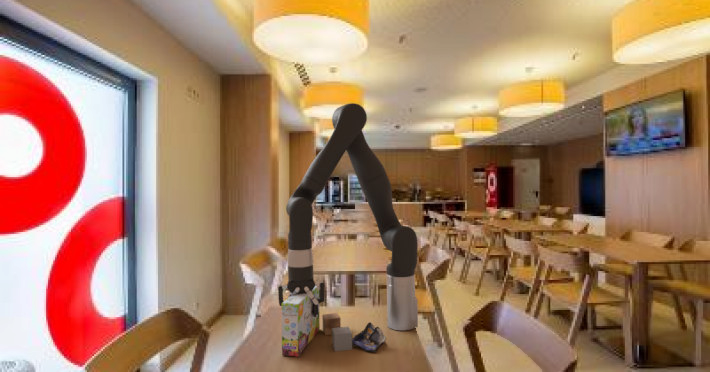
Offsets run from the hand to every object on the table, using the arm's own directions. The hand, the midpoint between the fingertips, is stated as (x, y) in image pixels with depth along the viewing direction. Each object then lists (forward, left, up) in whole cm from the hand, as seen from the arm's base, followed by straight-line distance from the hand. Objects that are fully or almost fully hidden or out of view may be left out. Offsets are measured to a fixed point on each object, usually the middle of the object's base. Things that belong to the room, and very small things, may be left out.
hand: (302, 317), depth 131 cm
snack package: (-20, +8, -8) cm, 22 cm away
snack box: (0, 0, -8) cm, 8 cm away
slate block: (-11, +7, -8) cm, 15 cm away
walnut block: (-10, -6, -8) cm, 14 cm away
